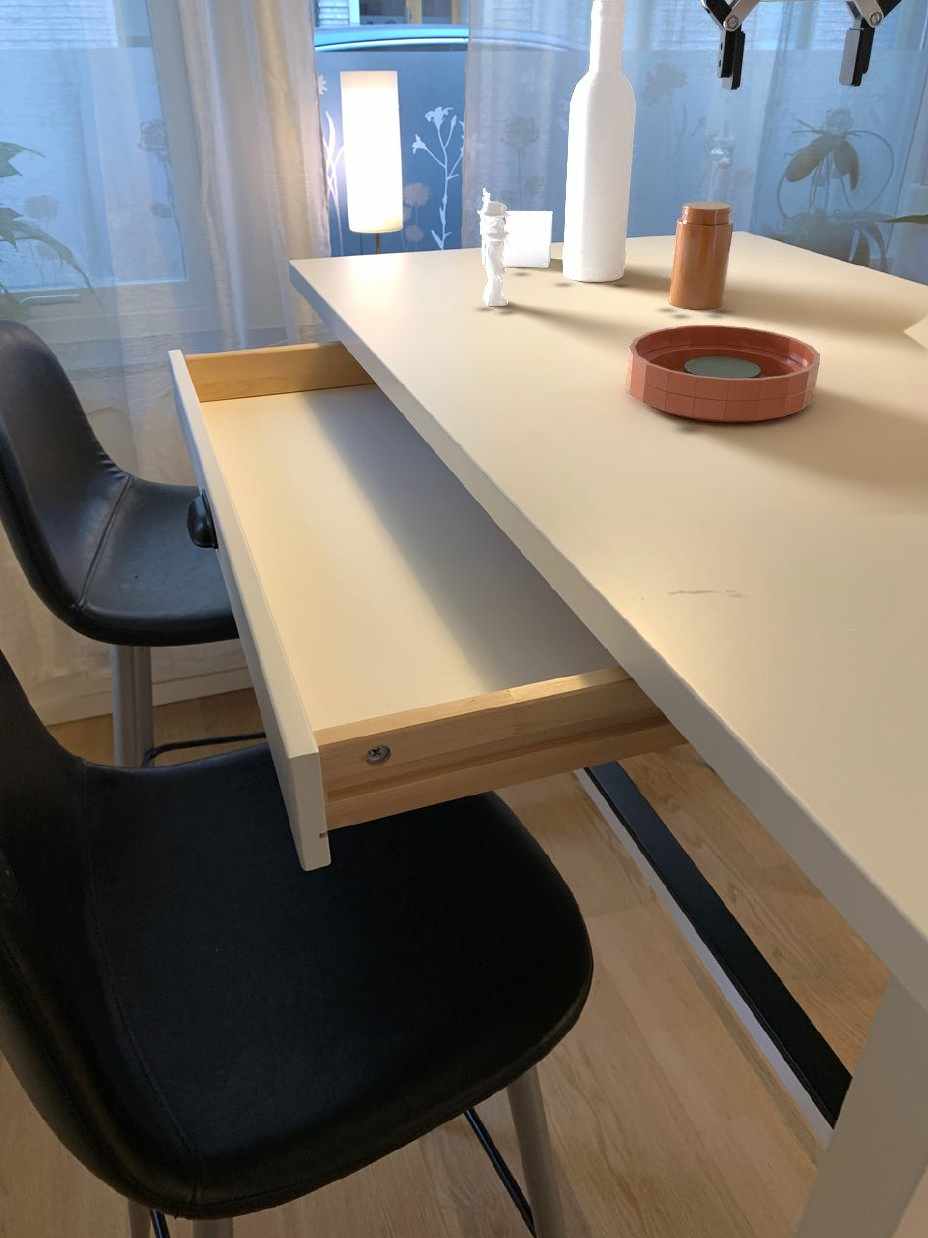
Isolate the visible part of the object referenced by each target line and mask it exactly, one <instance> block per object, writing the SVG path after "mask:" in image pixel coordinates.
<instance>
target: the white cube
mask: <svg viewBox="0 0 928 1238" xmlns="http://www.w3.org/2000/svg"><path fill="white" fill-rule="evenodd" d="M507 213H510V214H512V216H510V217H506V224H505V225H504V230H505V231H507V232H508V233H509V234H510V235H506V238H507V241H508V245H507V243H506V239H504V240H503V258H504V263H503V264H504V266H505V268H547V269H548V268H549V266H550V263H551V258H552V235H553V234H552V233H553V211H543V210H542V211H541V210H540V211H539V210H538V211H537V210H536V211H534V210H507Z"/></svg>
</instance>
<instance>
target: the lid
mask: <svg viewBox="0 0 928 1238" xmlns="http://www.w3.org/2000/svg"><path fill="white" fill-rule="evenodd" d="M760 372H761V370H760V368H759V366H757V365H756V364H754V363H752V362H749V361H746V360H743V359H738V358H732V357H721V356H710V357H700V358H695V359H692V360H689V361H687V362H686V363H685V365H684V373H688V374H693V375H698V376H707V377H718V378H729V379H732V378H760Z"/></svg>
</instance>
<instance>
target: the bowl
mask: <svg viewBox="0 0 928 1238" xmlns="http://www.w3.org/2000/svg"><path fill="white" fill-rule="evenodd" d="M627 355H628V356H627V369H626V380H625V385H626V388H627V390H628V392H629V394H630V395H631V396H632V397H634V398H635V399H637V400H639V401H640V402H641V403H643V404H644V405H648V406H651V407H653V408H655V409H657V410H659V411H661V412H664V413H667V414H670V415H673V416H676V417H681V418H686V419H690V420H696V421H703V422H712V423H732V424H733V423H734V424H735V423H737V424H738V423H754V422H755V423H756V422H761V421H768V420H773V419H777V418H783V417H786V416H789V415H792V414H795V413H798V412H802V410H804V409H805V408H806V407H808V406H809V405H810V404H811V403H813V400H814V395H815V389H816V385H817V379H818V373H819V370H820V369H819V368H820V364H821V363H820V362H821V354H820V353H819V351H817V350H816V349H815V348H814V347H813V346H812V345H811V344H808V343H806V342H804V341H802V340H800V339H798V338H795V337H793V336H788V335H785V334H782V333H778V332H775V331H771V330H764V329H760V328H759V329H758V328H752V327H746V326H735V325H734V326H733V325H723V324H719V325H718V324H703V325H702V324H695V325H693V324H691V325H682V326H681V325H680V326H672V327H664V328H660V329H657V330H652V331H648V332H644V334H641V335H640V336H637V337H635V338H634V339H633V340H632V342H631V343H630V345H629V346H628V353H627ZM710 356H721V357H732V358H738V359H743V360H746V361H749V362H752V363H754V364H756V365H757V366H759V368H760V370H761V372H760V378H732V379H729V378H718V377H707V376H698V375H693V374H688V373H684V365H685V363H686V362H687V361H689V360H692V359H695V358H700V357H710Z"/></svg>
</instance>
